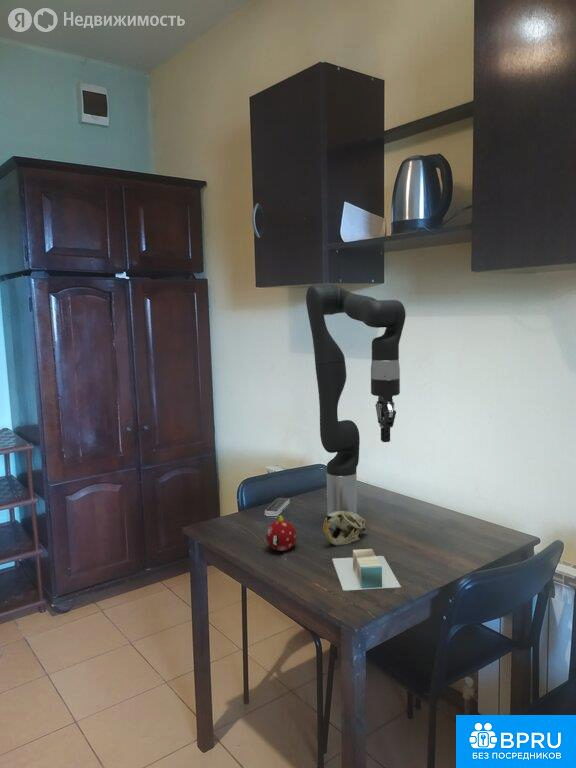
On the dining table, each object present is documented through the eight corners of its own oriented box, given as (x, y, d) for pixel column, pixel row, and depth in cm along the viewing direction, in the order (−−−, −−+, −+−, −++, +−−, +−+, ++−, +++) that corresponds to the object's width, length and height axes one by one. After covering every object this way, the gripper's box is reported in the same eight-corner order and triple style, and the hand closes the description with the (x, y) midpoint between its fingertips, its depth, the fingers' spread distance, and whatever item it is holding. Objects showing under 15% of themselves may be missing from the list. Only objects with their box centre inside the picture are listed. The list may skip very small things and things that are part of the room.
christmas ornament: (302, 546, 165) (301, 513, 163) (288, 558, 157) (287, 523, 156) (275, 542, 168) (274, 509, 167) (261, 553, 161) (260, 518, 160)
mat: (332, 560, 155) (332, 558, 155) (383, 557, 156) (383, 555, 156) (343, 592, 137) (343, 590, 137) (401, 589, 138) (401, 587, 138)
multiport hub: (264, 517, 190) (264, 510, 190) (277, 503, 204) (277, 497, 203) (277, 518, 189) (277, 511, 188) (289, 504, 202) (289, 498, 202)
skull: (307, 540, 164) (314, 506, 164) (342, 540, 175) (349, 507, 176) (333, 551, 157) (340, 515, 157) (367, 550, 168) (374, 516, 169)
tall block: (352, 549, 148) (361, 568, 137) (371, 548, 148) (382, 567, 137) (353, 568, 148) (361, 588, 138) (372, 567, 149) (382, 587, 138)
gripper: (365, 374, 157) (366, 436, 159) (376, 380, 144) (377, 447, 146) (392, 373, 158) (393, 435, 160) (406, 379, 144) (406, 446, 147)
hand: (385, 441), depth 153 cm, fingers closed
